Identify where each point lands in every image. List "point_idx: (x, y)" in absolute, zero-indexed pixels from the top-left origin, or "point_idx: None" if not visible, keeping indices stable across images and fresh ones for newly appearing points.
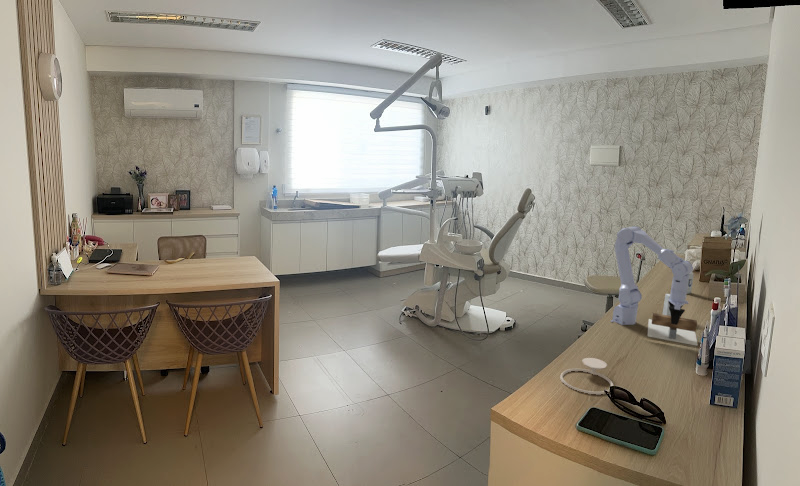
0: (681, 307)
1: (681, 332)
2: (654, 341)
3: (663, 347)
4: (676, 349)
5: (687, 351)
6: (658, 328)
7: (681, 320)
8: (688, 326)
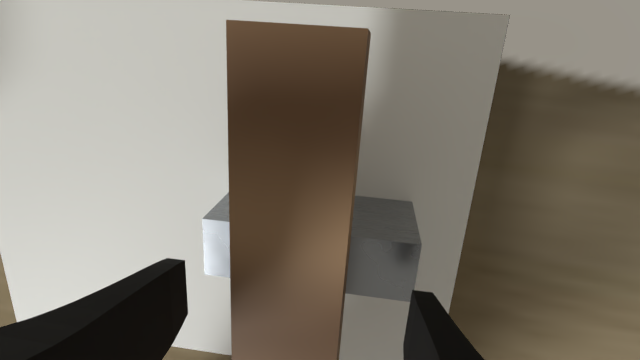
0: (35, 356)
1: (185, 123)
2: (474, 335)
3: (593, 295)
4: (607, 207)
5: (630, 122)
6: (198, 289)
7: (344, 258)
8: (359, 136)
